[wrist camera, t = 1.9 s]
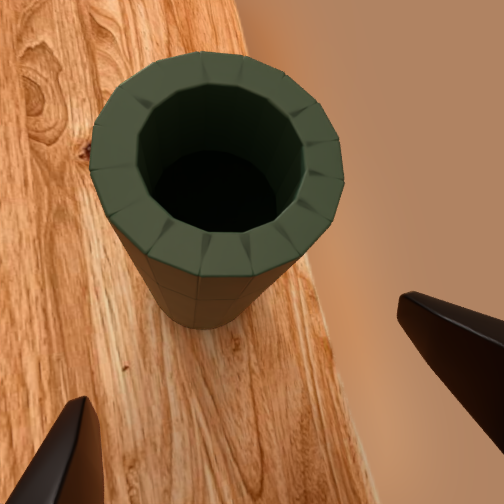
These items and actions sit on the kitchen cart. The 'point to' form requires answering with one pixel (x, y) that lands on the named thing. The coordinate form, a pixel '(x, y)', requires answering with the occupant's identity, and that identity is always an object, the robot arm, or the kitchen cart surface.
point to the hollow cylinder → (214, 179)
